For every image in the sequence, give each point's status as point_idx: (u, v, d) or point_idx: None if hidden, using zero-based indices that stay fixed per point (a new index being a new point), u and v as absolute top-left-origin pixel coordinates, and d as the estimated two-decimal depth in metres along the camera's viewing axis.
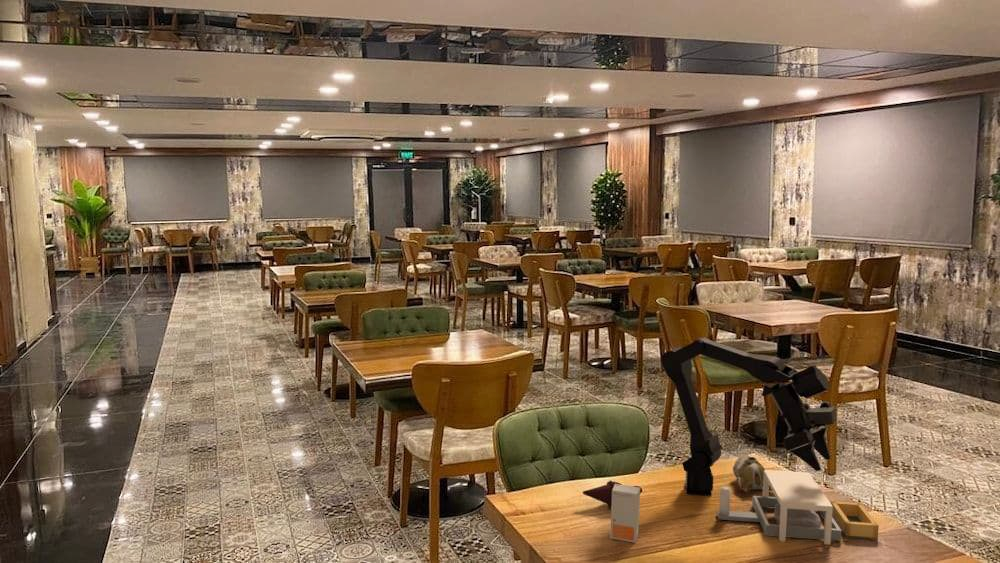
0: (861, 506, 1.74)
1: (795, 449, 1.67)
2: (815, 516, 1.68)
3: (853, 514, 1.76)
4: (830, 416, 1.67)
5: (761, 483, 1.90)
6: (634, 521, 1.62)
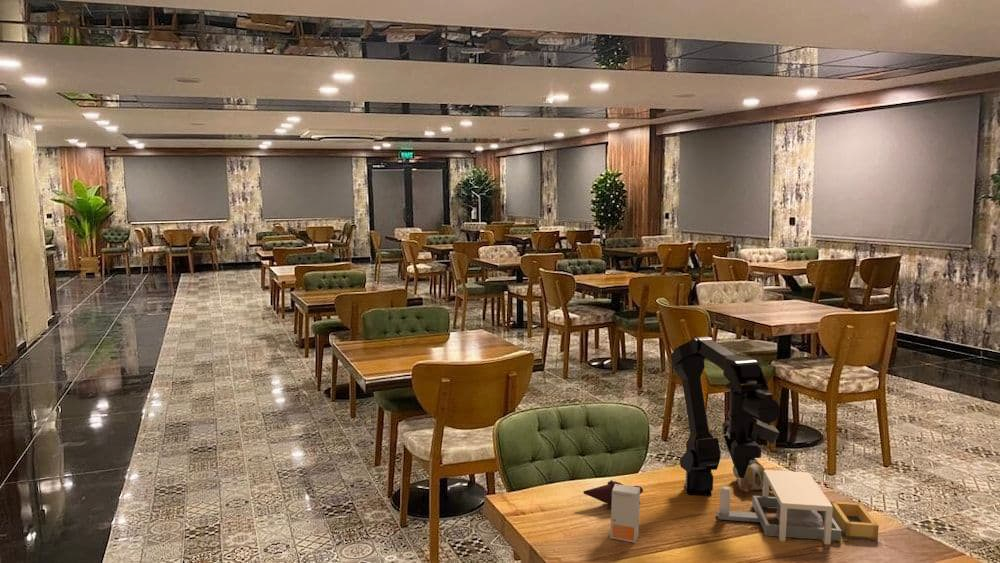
0: (861, 506, 1.74)
1: None
2: (817, 516, 1.68)
3: (853, 514, 1.76)
4: (776, 437, 1.69)
5: (761, 483, 1.90)
6: (634, 521, 1.62)
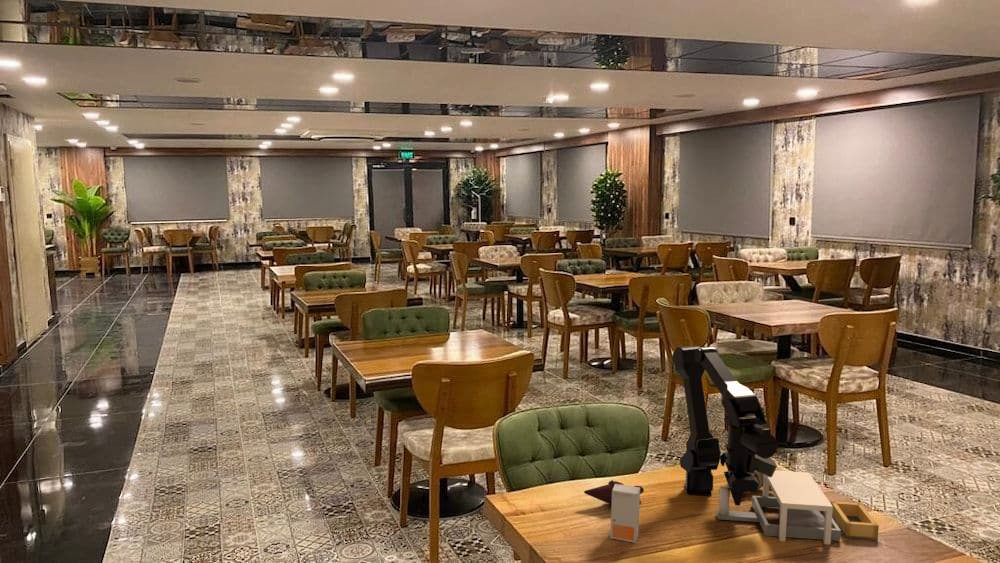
0: (861, 506, 1.74)
1: None
2: (820, 516, 1.68)
3: (853, 514, 1.76)
4: (774, 470, 1.70)
5: (760, 483, 1.90)
6: (634, 521, 1.62)
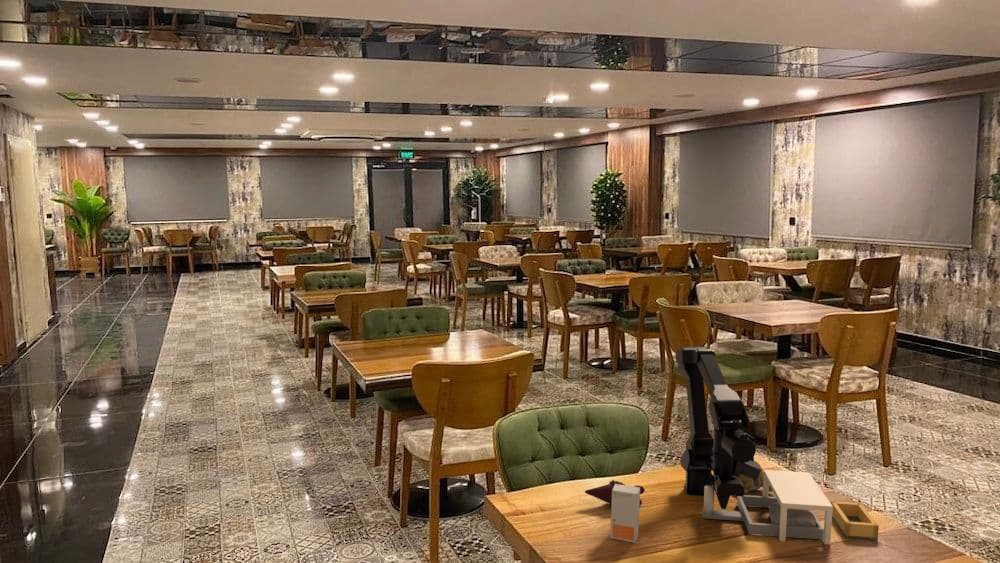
0: (861, 506, 1.74)
1: None
2: (810, 515, 1.68)
3: (853, 514, 1.76)
4: (759, 473, 1.71)
5: (759, 484, 1.90)
6: (634, 521, 1.62)
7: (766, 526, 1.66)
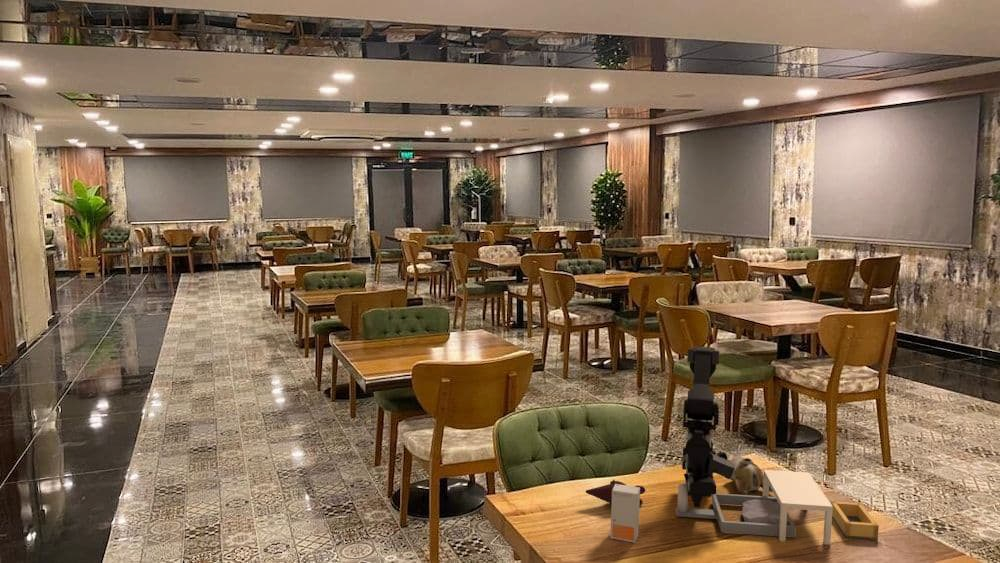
0: (861, 506, 1.74)
1: None
2: None
3: (853, 514, 1.76)
4: (732, 472, 1.72)
5: (758, 484, 1.90)
6: (634, 521, 1.62)
7: (738, 524, 1.67)
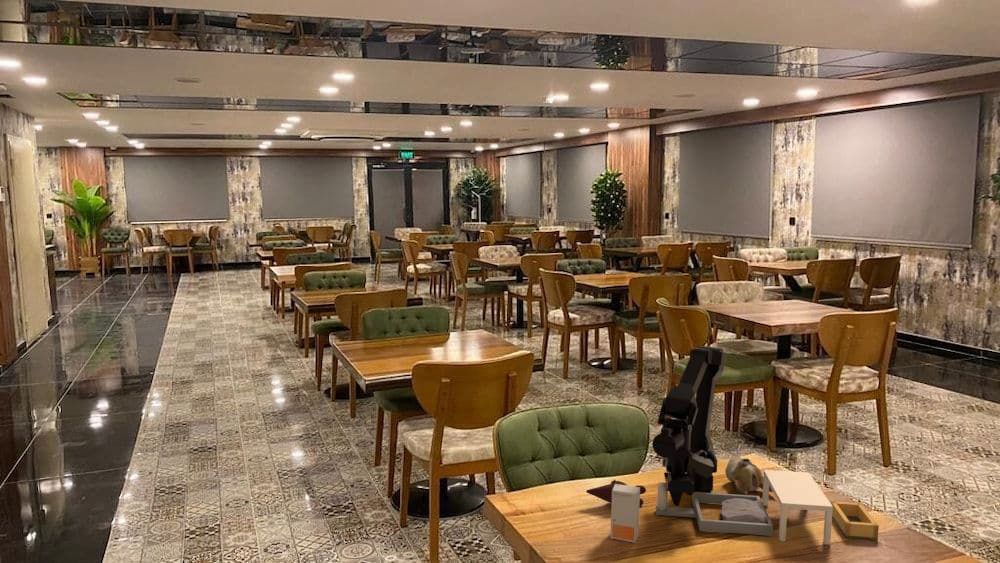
0: (861, 506, 1.74)
1: None
2: (761, 512, 1.70)
3: (853, 514, 1.76)
4: (711, 471, 1.73)
5: (758, 484, 1.89)
6: (634, 521, 1.62)
7: (716, 522, 1.68)
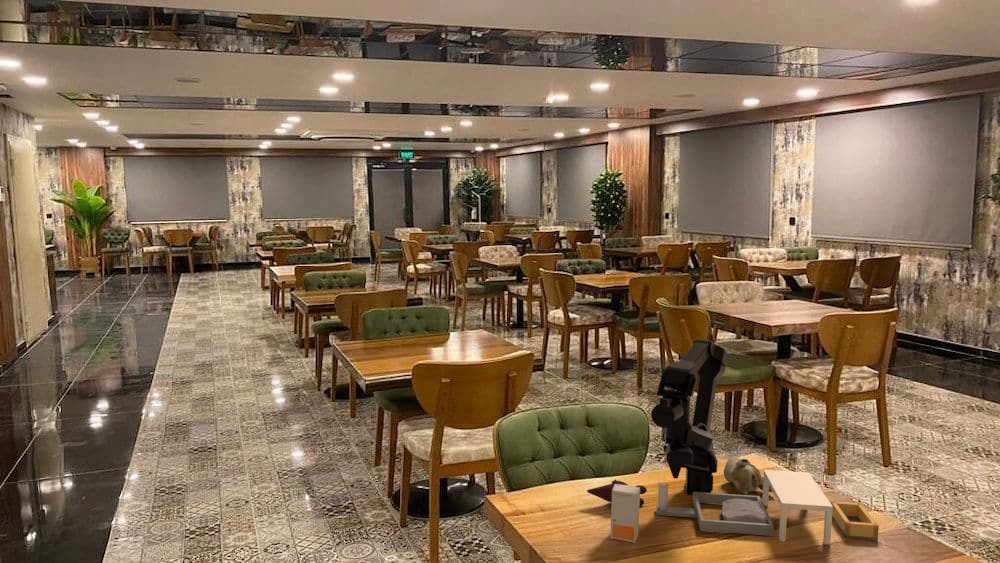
0: (861, 506, 1.74)
1: None
2: (761, 512, 1.70)
3: (853, 514, 1.76)
4: (710, 443, 1.72)
5: (757, 485, 1.89)
6: (634, 521, 1.62)
7: (717, 522, 1.68)
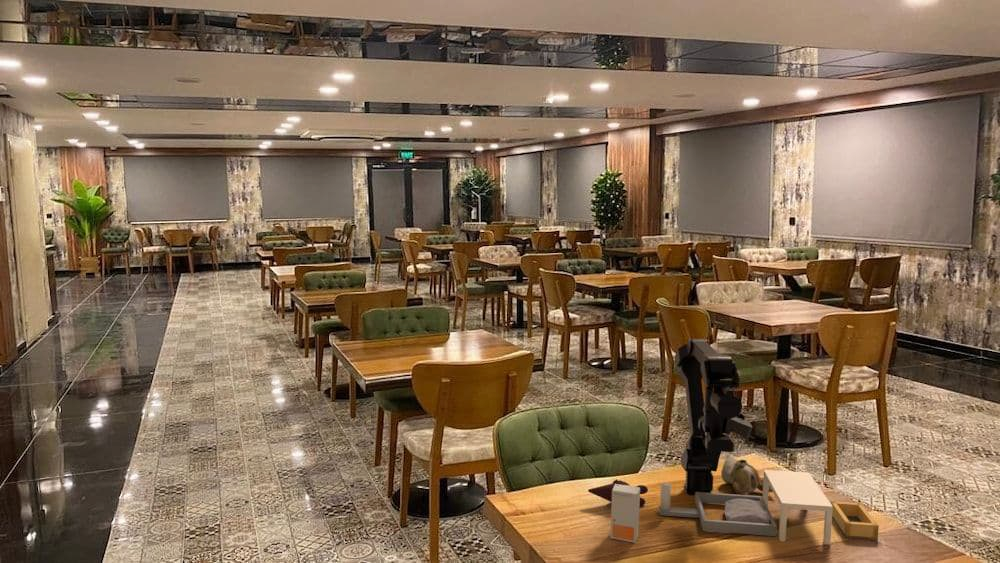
0: (861, 506, 1.74)
1: None
2: (764, 512, 1.70)
3: (853, 514, 1.76)
4: (750, 431, 1.73)
5: (756, 485, 1.89)
6: (634, 521, 1.62)
7: (719, 523, 1.68)
